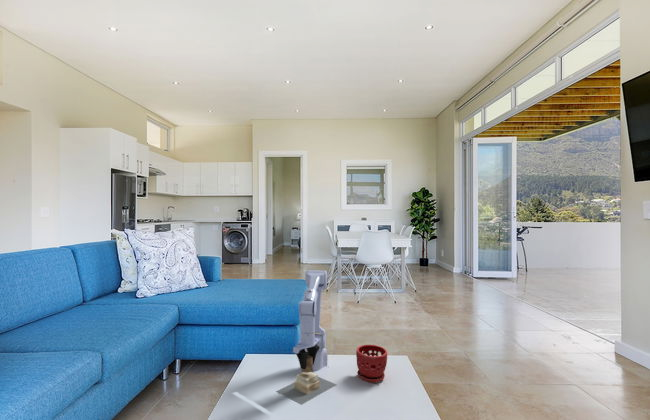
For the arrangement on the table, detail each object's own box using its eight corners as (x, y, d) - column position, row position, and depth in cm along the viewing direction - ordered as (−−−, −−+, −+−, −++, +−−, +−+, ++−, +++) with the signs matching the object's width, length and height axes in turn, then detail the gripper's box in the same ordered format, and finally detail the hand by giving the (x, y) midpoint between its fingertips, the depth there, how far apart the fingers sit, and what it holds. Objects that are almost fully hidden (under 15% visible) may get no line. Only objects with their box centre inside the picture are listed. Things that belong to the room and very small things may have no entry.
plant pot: (352, 382, 140) (352, 352, 141) (361, 369, 153) (361, 342, 153) (383, 388, 136) (383, 357, 136) (390, 374, 148) (390, 346, 148)
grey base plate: (311, 376, 145) (311, 374, 145) (336, 387, 136) (336, 384, 136) (275, 394, 130) (275, 391, 130) (301, 407, 121) (301, 404, 121)
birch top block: (307, 376, 138) (307, 370, 138) (317, 381, 134) (317, 374, 134) (296, 381, 133) (296, 375, 133) (307, 386, 129) (307, 380, 129)
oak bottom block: (306, 382, 138) (307, 375, 138) (319, 387, 134) (319, 381, 134) (294, 388, 133) (294, 381, 133) (307, 394, 128) (307, 387, 128)
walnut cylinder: (306, 366, 137) (306, 354, 137) (314, 369, 134) (314, 356, 134) (299, 370, 133) (299, 357, 133) (307, 373, 130) (307, 360, 131)
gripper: (311, 325, 142) (311, 357, 142) (287, 334, 131) (287, 369, 130) (324, 328, 138) (324, 362, 137) (301, 338, 126) (301, 375, 126)
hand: (307, 366), depth 133 cm, fingers closed on walnut cylinder, 4 cm apart
